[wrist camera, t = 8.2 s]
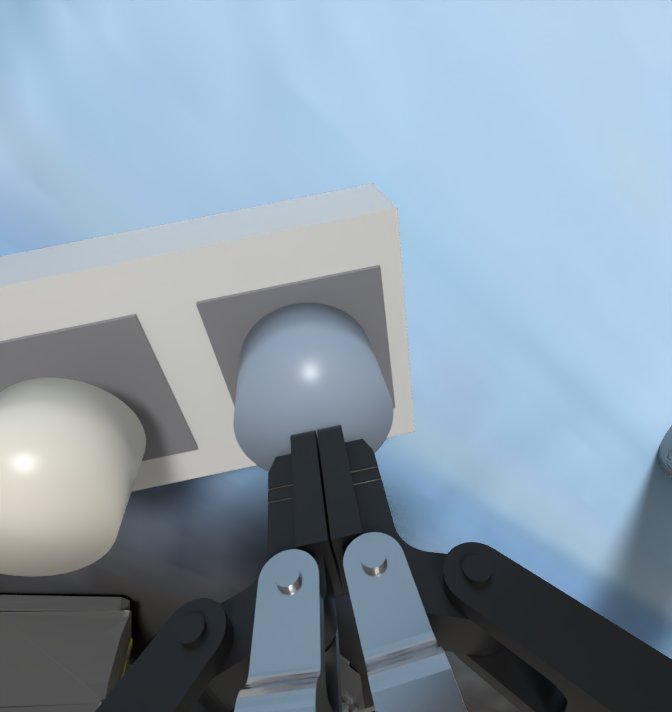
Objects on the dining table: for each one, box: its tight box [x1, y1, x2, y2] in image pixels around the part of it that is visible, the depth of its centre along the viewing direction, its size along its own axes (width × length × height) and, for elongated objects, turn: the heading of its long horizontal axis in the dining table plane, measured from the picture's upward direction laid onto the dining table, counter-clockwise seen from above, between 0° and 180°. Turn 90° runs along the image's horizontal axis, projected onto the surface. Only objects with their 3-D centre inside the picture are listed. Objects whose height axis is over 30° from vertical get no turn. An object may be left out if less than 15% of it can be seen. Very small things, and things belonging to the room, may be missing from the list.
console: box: [0, 183, 415, 491], centre depth 18 cm, size 25×10×4 cm, turn 99°
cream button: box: [0, 378, 146, 576], centre depth 13 cm, size 5×5×4 cm
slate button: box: [233, 303, 394, 471], centre depth 15 cm, size 5×5×4 cm
